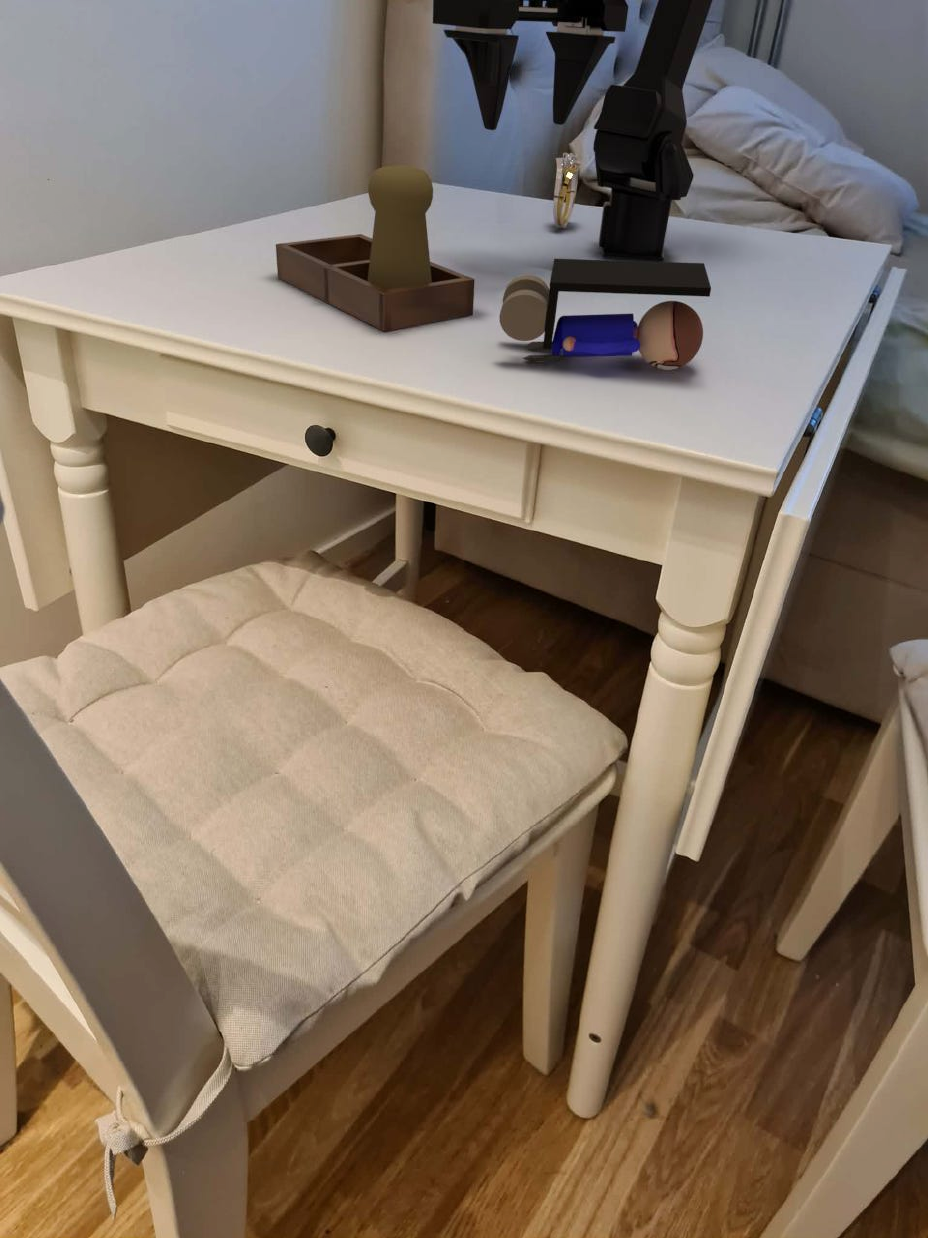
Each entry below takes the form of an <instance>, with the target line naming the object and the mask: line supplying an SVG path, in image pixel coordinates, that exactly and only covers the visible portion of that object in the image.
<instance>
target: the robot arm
mask: <svg viewBox="0 0 928 1238" xmlns="http://www.w3.org/2000/svg"><path fill="white" fill-rule="evenodd" d="M713 1H714V0H657V2H656V5H655V8H654V12H653V15H652V18H651V21H650V25H649V28H648V30H647V33H646V37H645V40H644V43H643V46H642V49H641V52H640V55H639V58H638V61H637V65H636V68H635V70H634V72H633V74H632V75H631V76H630V77H629V78H628V79H627V80H626V81H625V83H623V85H618V84H610V85H609V87H608V88H607V90H606V92H605V94H604V98H603V102H602V107H601V112H600V113H599V116H598V118H597V121H596V122H595V124H594V125H593V129H594V130H596V132H595V135H594V139H593V148H592V150H593V153H594V162H595V174H596V183H597V187H601V188H608V189H610V197H609V201H605V202H604V203H603V207H602V216H601V223H600V229H599V236H598V246H599V248H600V249H601V248H602V249H601V250H602V257H607V258H615V259H627V260H638V261H650V262H665V261H664V260H665V253H664V248H665V247H664V246H665V240H666V236H667V235H666V234H667V228H668V224H669V217H670V213H671V206H672V201H681V200H682V198H686V197H687V196H688V194H689V191H690V188H691V186H692V183H693V180H694V178H695V177H694V176H695V175H694V172H693V169H692V167H691V165H690V161H689V159H688V157H687V154H686V152H685V149H684V146H683V139H684V136H685V132H686V128H687V123H688V118H687V112H686V106H685V99H684V92H683V89H684V85H685V82H686V80H687V76H688V74H689V70H690V67H691V65H692V61H693V58H694V56H695V52H696V51H697V47H698V44H699V41H700V38H701V35H702V32H703V29H704V26H705V25H706V20H707V18H708V15H709V12H710V10H711V7H712V3H713ZM524 2H528V3H527V4H528V5H524ZM544 2H547V5H546V6H544ZM628 13H629V5H628V3H627V1H626V0H433V2H432V24H433V25H434V24H435V25H443V26H444V25H445V26H453V27H455V29H448V28H447V29H445V28H444V29H443V33H444V35H445V37H446V38H449V39H452V40H453V41H454V42H455V44H456V45H457V46H458V48H459V49H460V50H461V52H462V53H463V54H464V56H465V59H466V61H467V65H468V68H469V71H470V74H471V79H472V83H473V87H474V90H475V95H476V99H477V103H478V107H479V111H480V115H481V120H482V123H483V127H484V129H485V130H488V131H495V130H497V128H498V125H499V121H500V118H501V115H502V111H503V107H504V103H505V99H506V94H507V90H508V86H509V81H510V78H511V77H510V76H511V72H512V68H513V67H512V66H513V64H514V59H515V56H516V51H517V46H518V41H519V36H520V35H518V34H508V30H512V28H513V27H514V26H515V24H516V22H537V23H538V22H539V23H551V25H552V26H553V27H556V31H549V30H548V31H545V35H546V37H547V40H548V41H549V44H550V46H551V49H552V51H553V53H554V68H553V69H554V70H553V87H552V88H553V90H552V123H553V124H554V125H559V126H562V125H565V123H567V120H568V119H569V116H570V114H571V112H572V111H573V109H574V106H575V104H576V103H577V101H578V99H579V98H580V95H581V93H582V92H583V90H584V88H585V86H586V84H587V82H588V81H589V79H590V77H591V75H592V74H593V72H594V71H595V69H596V67H597V65H598V64H599V62H600V60H601V59H602V57H603V55H604V54H605V53H606V50H607V49H608V47H609V46H610V45H611V44H615V42H616V38H617V37H616V36H612V35H604V34H605V32H616V33H623V32H626V28H627V21H628Z"/></svg>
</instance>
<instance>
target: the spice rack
mask: <svg viewBox="0 0 928 1238" xmlns="http://www.w3.org/2000/svg"><path fill="white" fill-rule="evenodd" d="M372 238H373V237H370V236H366V235H364V234H361V233H360V234H349V235H341V236H332V237H325V238H317V239H308V240H299V241H289V242H282V243H276V244H275V257H276V269H277V270H276V271H277V279H278V280H281V281H283V282H285V283H287V284H289V285H291V286H293V287H295V288H297V289H299V290H300V291H303V292H305V293H306V294H308V295H311V296H313V297H315V298H317V299H319V300H321V301H323V302H325V303H326V304H329V305H331V306H332V307H335V308H336V309H338V310H341V311H343V312H345V313H346V314H349V315H350V316H353V317H354V318H357V319H359V320H361V321H362V322H364V323H367V324H369V325H370V326H373V327H374V328H376V329H377V330H380V331H382V332H390V331H395V330H400V329H404V328H405V329H406V328H412V327H415V326H416V327H417V326H421V325H427V324H433V323H438V322H442V321H447V320H448V321H449V320H453V319H457V318H464V317H468V316H473V315H474V303H475V301H474V300H475V285H476V284H475V283H476V279H475V278H473V277H471V276H469V275H465V274H463V273H461V272H458V271H456V270H453V269H450V268H448V267H445V266H442V265H440V264H438V263H435V262H433V261H430V267H431V277H432V283H428V284H421V285H415V286H409V287H403V288H396V289H390V290H385V289H383V288H381V287H378V286H376V285H374V284H372V283H370V282H368V273H369V264H370V255H371V247H372Z"/></svg>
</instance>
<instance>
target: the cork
mask: <svg viewBox="0 0 928 1238" xmlns="http://www.w3.org/2000/svg"><path fill="white" fill-rule="evenodd" d="M367 187H368V192H367V193H368V197H369V203H370V205H371V206H372V208H373V209H374V213H375V214H374V220H373V221H374V222H373V231H372V237H371V238H372V247H371V255H370V264H369V273H368V282H370V283H372V284H374V285H376V286H378V287H381V288H383V289H385V290H390V289H396V288H403V287H409V286H415V285H421V284H428V283H432V277H431V267H430V262H431V258H430V247H429V237H428V236H429V235H428V228H427V227H428V226H427V225H428V224H427V215H426V214H427V212H428V211H429V209H430V207H431V206H432V203H433V200H434V186H433V181H432V179H431V177H430V175H429V174H428V173H427V172H426V171H425V170H423V169H421V168H417V167H414V166H410V165H402V164H398V165H397V164H396V165H395V164H394V165H388V166H383V167H379V168H377V169H376V170H374V171H373V172H372V174H371V175H370V177H369V179H368V185H367Z"/></svg>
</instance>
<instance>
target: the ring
mask: <svg viewBox="0 0 928 1238" xmlns="http://www.w3.org/2000/svg"><path fill="white" fill-rule="evenodd" d="M579 156H580V153H578V152H576V153H575V154H574V153H573V152H569V153H568V152H564V151H563V154H562V157H555V162H556V175H555V183H554V191H553V193H554V194H553V202H552V203H553V205H552V213H553V214H552V215H553V222H554V224H555V226H556V227H557V228H558V229H567V225H568V224H569V221H570V219H571V218H572V214H573V211H574V206H575V201H576V198H577V197H576V195H577V189H578V179H579V171H580V166H581V165H582V163H583V160H582V159H579ZM563 177H564V182H563ZM564 203H565V205H564ZM563 208H564V209H563Z"/></svg>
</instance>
